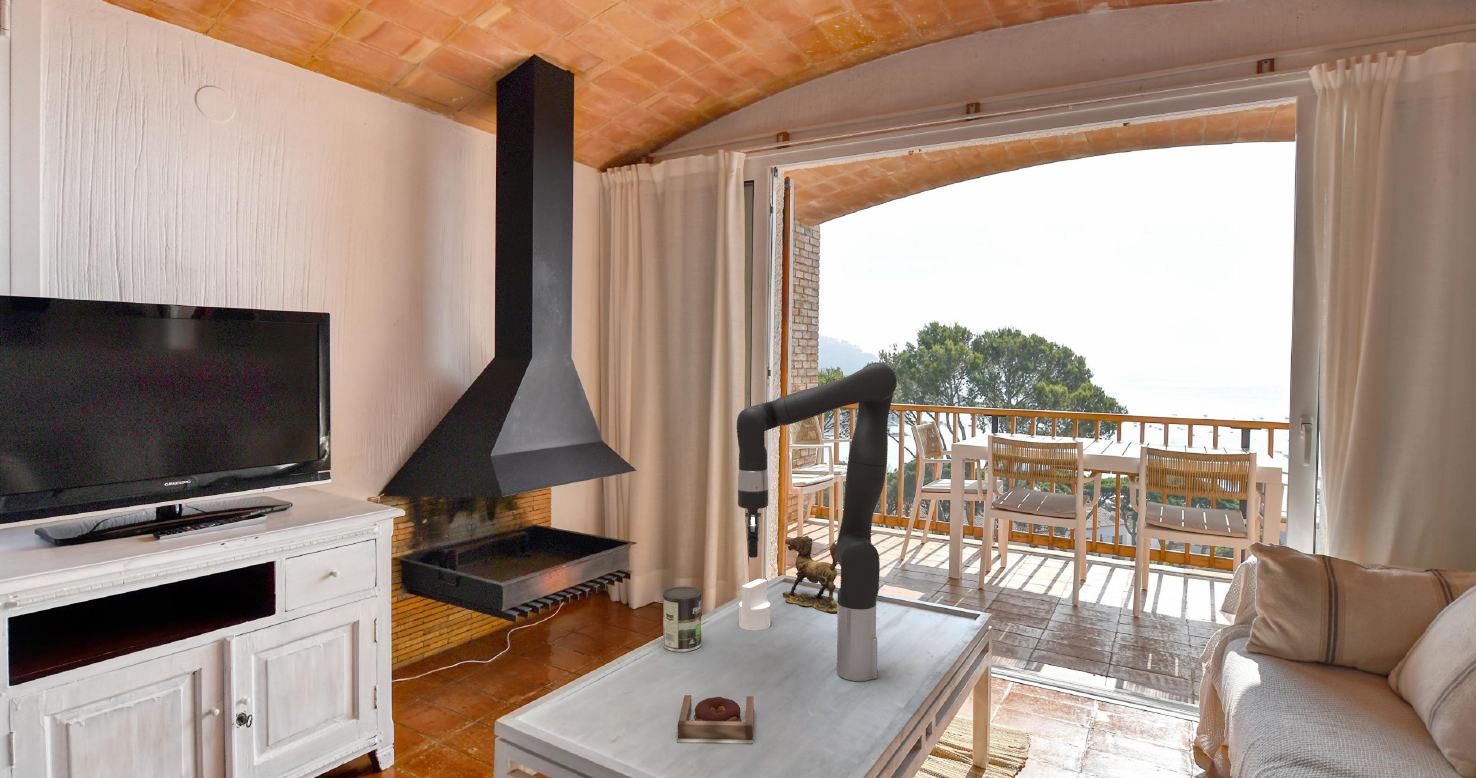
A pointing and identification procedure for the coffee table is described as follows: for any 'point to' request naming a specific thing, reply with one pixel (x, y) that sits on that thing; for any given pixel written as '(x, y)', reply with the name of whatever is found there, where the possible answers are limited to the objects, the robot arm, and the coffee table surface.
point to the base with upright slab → (754, 606)
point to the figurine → (812, 576)
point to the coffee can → (682, 619)
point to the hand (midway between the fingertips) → (753, 556)
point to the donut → (717, 710)
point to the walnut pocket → (715, 727)
